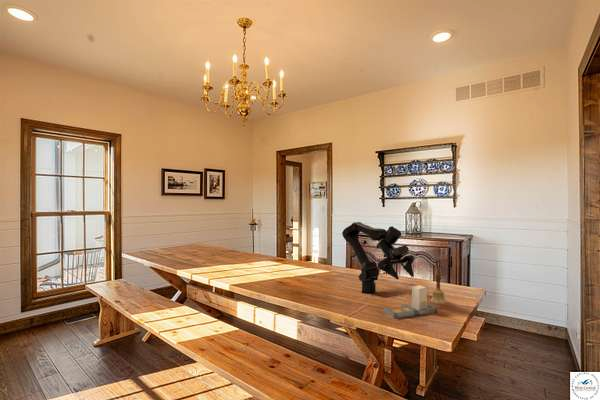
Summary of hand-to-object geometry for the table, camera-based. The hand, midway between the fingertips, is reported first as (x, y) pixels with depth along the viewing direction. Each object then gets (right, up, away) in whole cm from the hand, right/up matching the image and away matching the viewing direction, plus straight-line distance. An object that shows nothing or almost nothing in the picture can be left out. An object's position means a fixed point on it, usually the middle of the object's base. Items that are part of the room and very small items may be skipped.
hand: (405, 277), depth 144 cm
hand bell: (+17, -13, +5) cm, 23 cm away
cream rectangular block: (+4, -12, -7) cm, 15 cm away
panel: (-1, -13, -8) cm, 16 cm away
